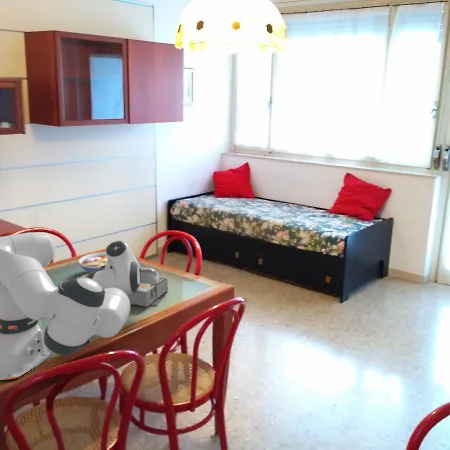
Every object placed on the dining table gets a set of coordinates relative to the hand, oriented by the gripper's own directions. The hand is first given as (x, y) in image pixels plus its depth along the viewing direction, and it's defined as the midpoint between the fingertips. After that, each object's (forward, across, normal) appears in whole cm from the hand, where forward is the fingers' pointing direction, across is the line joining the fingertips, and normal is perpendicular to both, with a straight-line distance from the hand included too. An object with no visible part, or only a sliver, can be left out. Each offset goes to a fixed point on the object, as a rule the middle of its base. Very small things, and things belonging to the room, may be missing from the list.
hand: (136, 284), depth 201 cm
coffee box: (+1, 0, +5) cm, 5 cm away
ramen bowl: (+28, +25, -16) cm, 41 cm away
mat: (+12, 0, 0) cm, 12 cm away
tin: (+10, +24, +2) cm, 26 cm away
